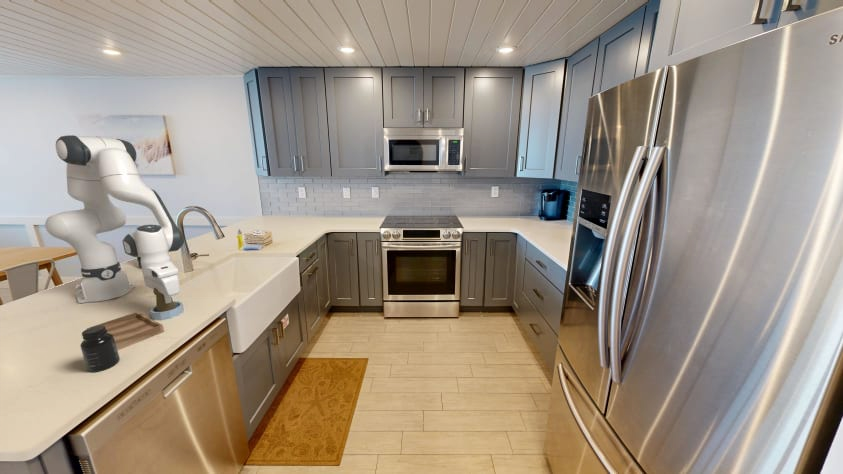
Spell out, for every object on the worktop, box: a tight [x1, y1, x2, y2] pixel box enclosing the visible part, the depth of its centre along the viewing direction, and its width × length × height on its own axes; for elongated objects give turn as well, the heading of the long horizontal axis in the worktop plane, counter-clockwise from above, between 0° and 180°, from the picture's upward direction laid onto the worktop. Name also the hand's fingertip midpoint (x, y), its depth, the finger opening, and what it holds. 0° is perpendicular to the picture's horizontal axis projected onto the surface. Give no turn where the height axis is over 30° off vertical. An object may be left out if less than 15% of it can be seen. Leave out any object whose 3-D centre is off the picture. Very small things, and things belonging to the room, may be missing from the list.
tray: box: [86, 311, 165, 351], centre depth 108 cm, size 20×14×3 cm
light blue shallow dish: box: [149, 300, 185, 321], centre depth 122 cm, size 10×10×3 cm
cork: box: [152, 288, 176, 312], centre depth 121 cm, size 6×6×11 cm
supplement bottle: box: [79, 325, 121, 373], centre depth 90 cm, size 7×7×12 cm
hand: (164, 300), depth 121 cm, fingers closed on cork, 4 cm apart
